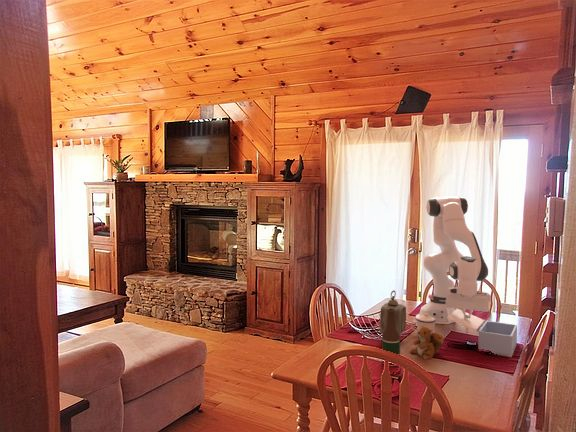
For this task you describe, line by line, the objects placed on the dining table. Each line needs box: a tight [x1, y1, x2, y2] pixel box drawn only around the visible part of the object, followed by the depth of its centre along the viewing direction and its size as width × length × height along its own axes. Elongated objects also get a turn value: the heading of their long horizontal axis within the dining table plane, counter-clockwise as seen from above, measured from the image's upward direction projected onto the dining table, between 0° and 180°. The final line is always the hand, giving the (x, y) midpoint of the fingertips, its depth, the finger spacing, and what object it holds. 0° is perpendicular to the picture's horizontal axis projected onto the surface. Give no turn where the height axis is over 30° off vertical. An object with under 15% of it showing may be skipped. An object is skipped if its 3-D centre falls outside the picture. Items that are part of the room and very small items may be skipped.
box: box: [477, 320, 518, 358], centre depth 217 cm, size 20×14×10 cm
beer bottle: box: [381, 309, 401, 365], centre depth 197 cm, size 8×8×24 cm
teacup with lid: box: [410, 313, 436, 336], centre depth 235 cm, size 12×9×12 cm
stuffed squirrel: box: [409, 326, 446, 360], centre depth 209 cm, size 10×14×13 cm
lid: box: [447, 308, 487, 333], centre depth 224 cm, size 20×15×1 cm
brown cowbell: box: [379, 289, 407, 336], centre depth 229 cm, size 14×9×25 cm, turn 149°
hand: (467, 318), depth 224 cm, fingers closed
